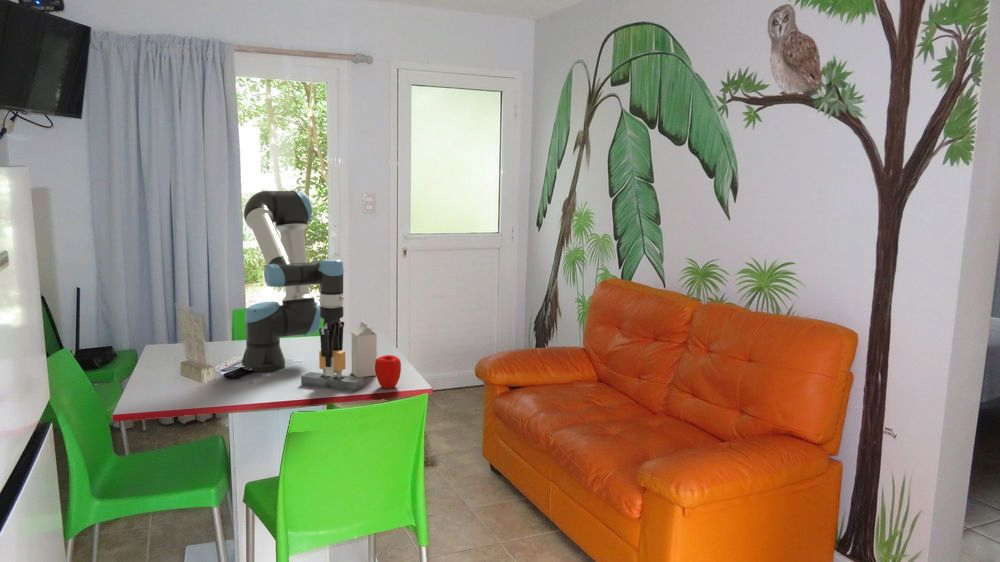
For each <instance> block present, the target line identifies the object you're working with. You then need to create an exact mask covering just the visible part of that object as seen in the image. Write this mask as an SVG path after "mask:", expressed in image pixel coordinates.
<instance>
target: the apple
mask: <svg viewBox="0 0 1000 562" xmlns="http://www.w3.org/2000/svg"><path fill="white" fill-rule="evenodd" d="M375 373H376V380H377V381H378V383H379V385H380V387H381V388H383V387H384V389H386V388H391V389H393V388H392V387H394V388H395V387H397V385H398V383H399V381H400V378H401V373H402V362H401V359H400V358H399V357H397V356H396V355H393V354H391V355H390V354H386V355H382V356H379V357H377V359H376V362H375Z"/></svg>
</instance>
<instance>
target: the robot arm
mask: <svg viewBox="0 0 1000 562" xmlns="http://www.w3.org/2000/svg"><path fill="white" fill-rule="evenodd" d="M312 214H313V207H312V202H311V200H310V198H309V196H308V195H307V194H306V193H305V192H303V191H297V190H261V191H259V192H256V193H254V195H252V196H251V197H250V198H249V199H248V201H247V202H246V203H245V205H244V208H243V217H244V221H245V224H246V225H247V227H248V228H249V229H251V230H252V233H253V234H254V235H253V236H254V237H255V240H256V242H257V244H258V247H259V249H260V251H261V254H262V256H263V259H264V261H265V262H266V263H265V264H266V265H265V267H264V270H263V279H264V282H265V284H266V285H267V287H271V288H272V287H273V288H274V287H275V288H282V287H284V288H285V296H284V298H283V299H282V300H281V303H282V305H280V303H279V302H278V301H263V302H259V303H255V304H251V305H249V306H248V307H247V308H246V310H245V318H244V322H245V349H244V353H243V357H242V360H241V367H242V366H245V367H249V368H252V369H253V371H254V372H253V373H268V372H270V373H271V372H274V371H275V372H276V371H279V370H281V369H284V368H285V367H286V358H285V355H284V353H283V350H282V348H281V344H280V343H281V342H280V341H281V338H285V337H286V338H287V337H296V336H307V335H313V334H315V333H317V331H318V332H319V336H320V337H319V339H320V351H321V356H322V357H325V376H334V375H335V374H337V370H334V357H332V353H333V350H337V351H343V343H344V328H345V327H344V326H345V321H341V319H342V318H343V317H344V306H343V305H344V299H345V297H344V272H345V269H344V262H343V260H342V259H339V258H338V259H337V258H322V259H321V260H312V261H309V262H308V260H307V250H306V237H305V230H306V229H307V228H308V226H309V224H308V223H309V222H311V221H312V219H313V218H312V217H313V215H312ZM278 232H279V233H280V234H279V233H278ZM310 285H319V302H316V300H315V297H314V296H313V295H312V294H311V292H310ZM322 319H323V327H322V328H320V326H321V323H322Z"/></svg>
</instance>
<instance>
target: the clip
mask: <svg viewBox="0 0 1000 562" xmlns="http://www.w3.org/2000/svg"><path fill="white" fill-rule="evenodd" d="M318 353H319V354H318V356H319V357H318V358H319V360H318V361H319V365H318V366H319V369H320V370H323V371H322V373H323V378H328V376H325V357H322V356H321V350H319V352H318ZM332 357H334V370H337V373H336V375H337V379H340V380H342V375H343V372H342V371H344V370H345V369H346V350H342V351H341V350H340V351H337V350H333V353H332Z"/></svg>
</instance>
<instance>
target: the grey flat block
mask: <svg viewBox="0 0 1000 562" xmlns="http://www.w3.org/2000/svg"><path fill="white" fill-rule="evenodd" d="M364 378H365V377H356V376H352V375H343V374H342V380H340V379H337V374H334V376H328V378H323V372H317V371H316V372H315V371H309V372H307V373H305V374H303V375H300V386H303V387H304V386H305V387H315V388H322V389H331V390H333V389H334V390H339V389H340V391H348V390H351V391H350V392H357V391H358V389H359V388H360V389H362V388H363V387H364V384H365V382H364V380H365V379H364ZM362 386H363V387H362ZM361 387H362V388H361ZM360 389H359V390H360ZM356 390H357V391H356Z"/></svg>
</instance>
